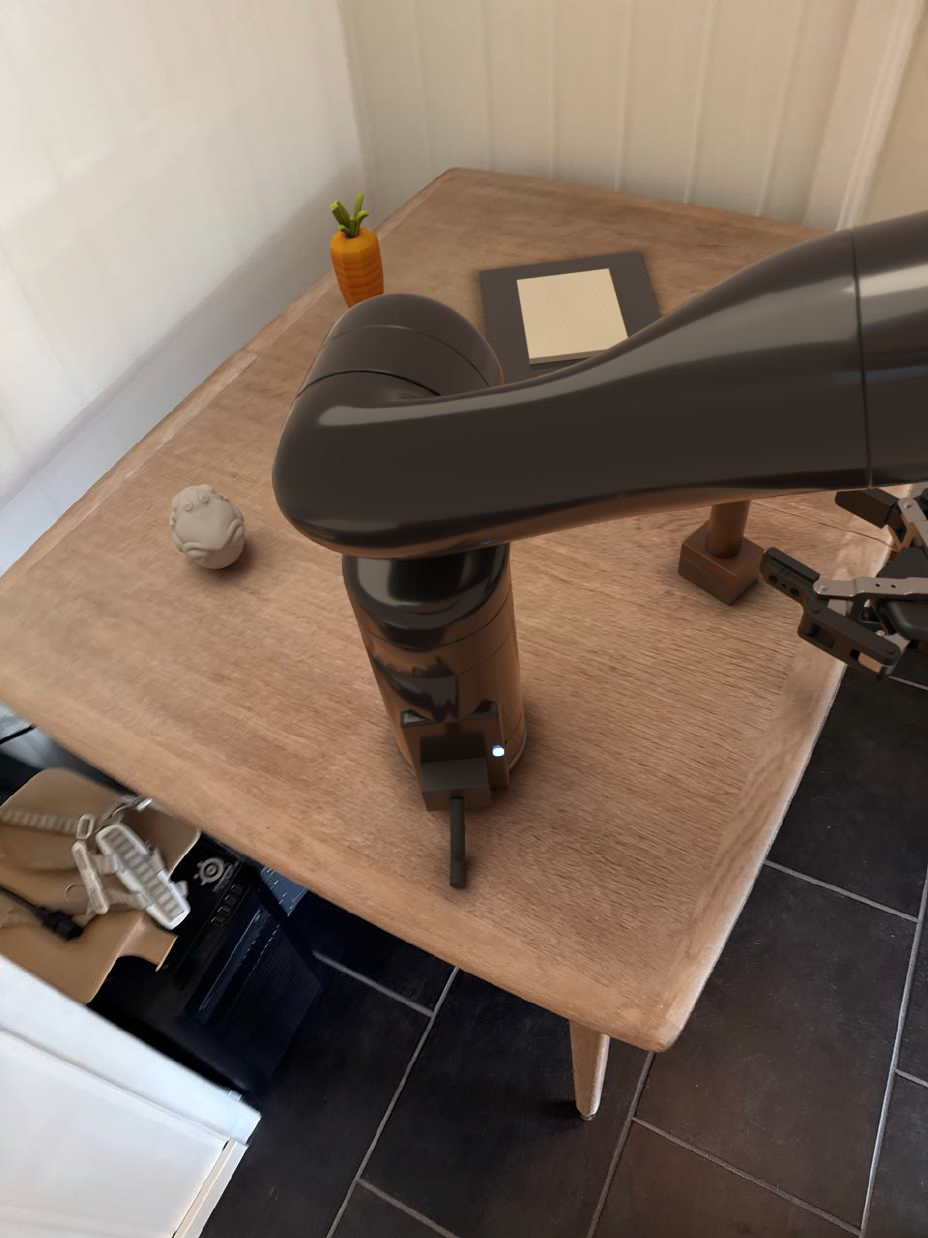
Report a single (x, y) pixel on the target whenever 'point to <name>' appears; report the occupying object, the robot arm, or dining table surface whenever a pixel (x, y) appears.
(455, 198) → the dining table surface
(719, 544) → the brown peg on block
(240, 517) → the frog figurine
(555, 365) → the tile
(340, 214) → the carrot
